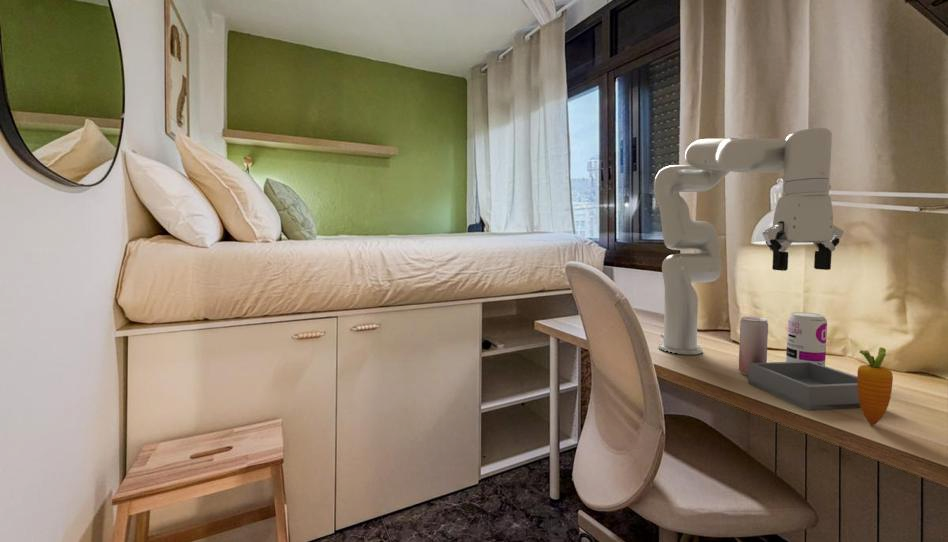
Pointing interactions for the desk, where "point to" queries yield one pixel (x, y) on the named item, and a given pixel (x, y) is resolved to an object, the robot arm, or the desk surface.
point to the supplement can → (806, 338)
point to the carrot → (874, 387)
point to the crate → (806, 384)
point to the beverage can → (752, 342)
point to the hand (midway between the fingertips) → (801, 269)
